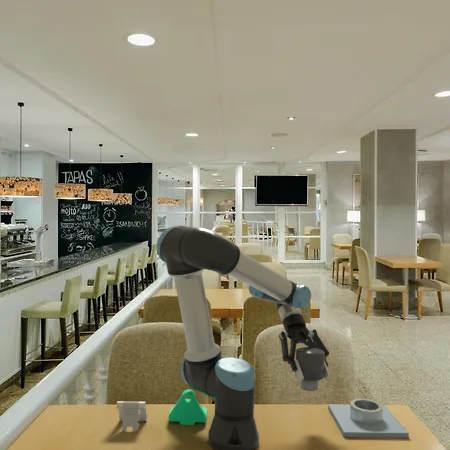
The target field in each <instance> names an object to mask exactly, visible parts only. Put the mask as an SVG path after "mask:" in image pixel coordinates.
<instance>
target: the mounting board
mask: <svg viewBox="0 0 450 450" xmlns="http://www.w3.org/2000/svg"><path fill="white" fill-rule="evenodd" d="M381 405H382V404H381ZM382 407H383V416H382V422H381V423H380V424H377V425H365V424H361V423H358V422H355V421H354V420H353V419H351V418H350V404H332V403H331V404H328V405H327V409H328V411H329V413H330V414H331V416H332V419H333V420H334V423H336V425H337V428H338V429H339V430H340V432H341V434H342V436H343V437H344V438H381V439H383V438H385V439H386V438H387V439H388V438H392V439H395V438H396V439H397V438H398V439H399V438H400V439H404V438H405V439H408V438H410V437H409V436H410V435H409V434H410V432H408V430H407V429H406V428H405V426H403V424H402V423H401V422H400V421H399V420H398V419H397V417H396V416H395V415H394V414H393V413H392V412H391V410H390V409H389V408H388V407H387V406H386V405H384V404H383V405H382Z"/></svg>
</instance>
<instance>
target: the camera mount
mask: <svg viewBox="0 0 450 450" xmlns="http://www.w3.org/2000/svg"><path fill="white" fill-rule="evenodd" d="M207 417H208V408H207V407H205V406H201V404H200V403H199V400H198V398H196V392H195V391H194V390H192V389H191V388H190V389H189V388H188V389H185V390H184V391H182V394H181V396H180V397H179V399H178V400H177V402H176V404H175V405H174V406H171V408H170V411H169V414H168V418H167V419H168V422H179V425H188V426H189V425H190V426H191V425H192V426H194V425H195V424H196V423H207Z"/></svg>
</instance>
